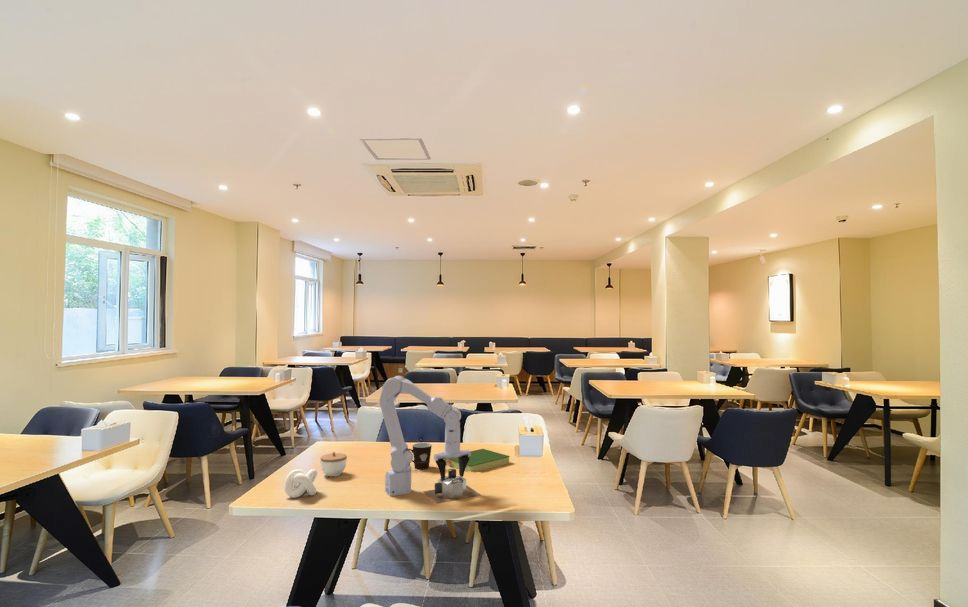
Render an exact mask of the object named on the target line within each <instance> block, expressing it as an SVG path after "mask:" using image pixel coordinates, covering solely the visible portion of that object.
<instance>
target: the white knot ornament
mask: <svg viewBox="0 0 968 607" xmlns="http://www.w3.org/2000/svg"><path fill="white" fill-rule="evenodd" d="M317 477H318V470H317V469H316V468H312V469H310V470H308V471H307V472H305V471H304V470H302V469H300V468H299V469H298V468H296V469H293V470H291V471H289V473H288V474H287V476H286V478H285V480H284V486H283V487H284V493H285V494H286V495H287V496H288V497H289V498H292V499H296V498H299V497H301V496H302V495H304V493H305V492H306V493H307V494H308V495H309V496H314V495H316V493H317V488H316V486H315V485H314V481H315V480H316V478H317Z"/></svg>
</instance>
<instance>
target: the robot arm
mask: <svg viewBox="0 0 968 607" xmlns="http://www.w3.org/2000/svg"><path fill="white" fill-rule="evenodd" d="M401 394H402V395H403V394H404V395H405V394H406V395H408V394H409V395H411V396H412V397H414V398H416V399H417V400H419V401H421V402H423V403H424V404H426V406H427V409H428V411H430V412H432V413H433V414H434V415H436V416H437V417H439V418H441V419H443V421H444V423H445V429H444V451H443V452H440V453H439V452H438V453H435V454H433V460H434V462H435V463H436V466H437V468H438V471H439V474H440V475H439V476H440V478H441V479H443V480H445V476H446V467H447V465H446V462H445V460H444V459H449V458H456V457H458V459H459V469H458V473H459V474H458V476H461V477H463V478H464V475H465V472H466V471H465V468H466V465H467V463H468V462H469V457H468V456H471V451H472V450H469V449H462V450H461V419H462V412H461V411H460V409H459V408H458V407H455V406H453V404H449V403H447V402H445V401H444V398H443V397H441V396H439V397H438V396H431V395H430V394H428V393H427V392H425V391H424V390H423V389H422V388H420V387H419V386H418V385H416V384H414V383H413V381H411V380H410V379H409V378H405V377H404V376H403V375H396V376H394V377H389V378H388V379H387V380H386V381H385V382H384V383H383V384H382V387H381V393H380V397H379V405H380V409H381V414H382V417H383V420H384V424H385V428H386V432H387V435H388V439H389V443H390V447H391V448H390V457H391V458H390V465H391V468H392V469H391V470H388V471H386V473H385V479H384V482H385V483H384V493H385V494H386V495H387V496H388V497H392V496H393V497H394V496H398V495H399V496H401V495H402V496H403V495H407V494H410V493H412V466H411V463H413V462H412V460H413V461H414V456H413V453H412V451H411V450H409V449H410V448H409V446H408V444H407V442H405V439H404V434H403V431H402V428H401V424H400V420H399V417H398V414H397V409H396V406H395V401H396V399H397V398H398V396H399V395H401Z"/></svg>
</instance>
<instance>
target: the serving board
mask: <svg viewBox="0 0 968 607" xmlns="http://www.w3.org/2000/svg"><path fill="white" fill-rule="evenodd" d="M422 493H424V494H425V495H426V496H427V497H428V498H430V499H431V500H432V501H433V502H435V503H436V504H441V503H442V504H443V503H448V502H453V501H458V500H463V499H469V498H475V497H479V496H482V494H481V493H479V492H478V491H476V490H475V489H473V488H472V487H470V486H469V485H468V484H466V494H465V495H464V496H462V497H457V498H446V497H441V496H440V495H439V494H435V489H429V490H424V491H422Z"/></svg>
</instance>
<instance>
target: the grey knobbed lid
mask: <svg viewBox="0 0 968 607" xmlns="http://www.w3.org/2000/svg"><path fill="white" fill-rule="evenodd" d="M447 476H448V478H451V479H446V480H444V481H443V483H451V484H454V483H460V482H462V481H461V480H459V479H454V478H456V476H457V468H449V469H448V474H447Z"/></svg>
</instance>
